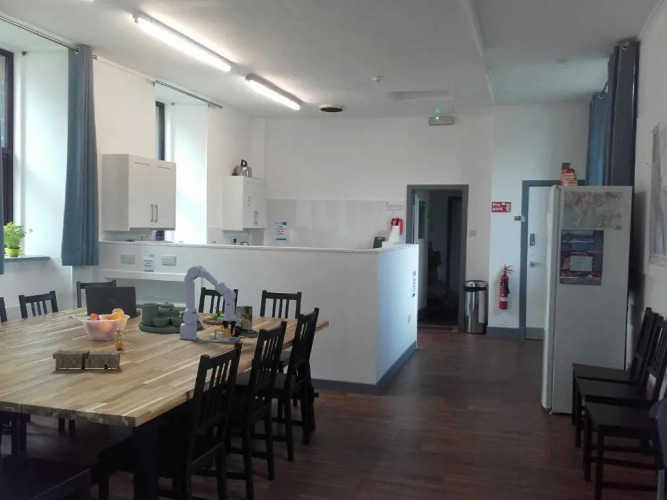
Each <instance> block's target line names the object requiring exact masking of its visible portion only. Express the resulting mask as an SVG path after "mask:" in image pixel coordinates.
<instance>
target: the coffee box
mask: <svg viewBox="0 0 667 500" xmlns="http://www.w3.org/2000/svg"><path fill="white" fill-rule="evenodd" d="M235 318H239V319H242V322H237V323H236V325H235V326H240V327H241V328H242V329H249V330H253V306H251V305H239V306H235Z"/></svg>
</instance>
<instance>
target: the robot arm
mask: <svg viewBox="0 0 667 500" xmlns="http://www.w3.org/2000/svg"><path fill="white" fill-rule="evenodd" d="M197 278H202V279H205V280H206V281H208V283H210V284H212V285H213V286H214V289H215V291H216V292H218V293H219V295H221V296H222V297H223V299H224V310H225V313H224V315H225V316H224V317H225V318H217V321H223V322H222V324H223V325H222V326H224V328H223V329H226V328H228V326H229V325H230V326H231V334H233V330H234V327H235V326H236V323H237V322H242V319H239V318H236V317H235V311H236V305H235V304H236V303H235V299H236V297H237V294H236V292H235V291H234V290H232V289H231V287H230V288H229V287H228V286H227V285H226V283H225V282H223V281H218V280H217V279H216V278H215V277H214V275H212V274H211V273H210V272H209V270H207V269H206V268H205V267H203V265H196V266H195V265H194V266H191V267H190V268H189V269H187V272H186V274H185V276H184V279H183V282H184V296H185V297H184V298H185V299H184V300H185V310H184V311H183V312H184V317H183V321H184V322H185V323H182V324H181V326H180V332H179V340H194V341H195V340H196V339H198V338H200V336H198V335H197V332H198V331H197V330H198V329H197V322H196V321H197V320H199V319H198V315H199V314H198V312H197V310H198V309H197V308H196V303H195V288H194V286H195V285H194V282H195V281H196V279H197ZM228 322H231V323H230V324H228Z"/></svg>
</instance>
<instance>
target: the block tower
mask: <svg viewBox="0 0 667 500" xmlns="http://www.w3.org/2000/svg"><path fill="white" fill-rule="evenodd" d="M52 359H53V360H55V368H82V367H85V368H105V367H106V366H107V365H108V367H106V368H118V367H119V366H121V365H120V363H121V352H120V351H119V350H92V351H91V350H89V349H87V350H85V349H84V350H81V349H79V350H77V349H74V350H73V349H72V350H71V349H70V350H68V349H67V350H65V349H64V350H63V349H58V350H56V351H54V352H53V353H52ZM85 368H84V369H85ZM106 368H105V369H106ZM119 368H120V367H119ZM119 368H118V369H119Z"/></svg>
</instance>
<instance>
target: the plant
mask: <svg viewBox="0 0 667 500" xmlns="http://www.w3.org/2000/svg"><path fill="white" fill-rule="evenodd" d="M214 309H215V310H217V313H215V314H214V313H213V314H211V315H210V316H211V317H209V318H203V319H202V322H201V323H203V324H205V325H210V326H223V324H222V322H223V321H217V318H225V309H222V310H219V308H218V307H217V306H216V307H214ZM230 323H231V322H228V325H231V324H230Z"/></svg>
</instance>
